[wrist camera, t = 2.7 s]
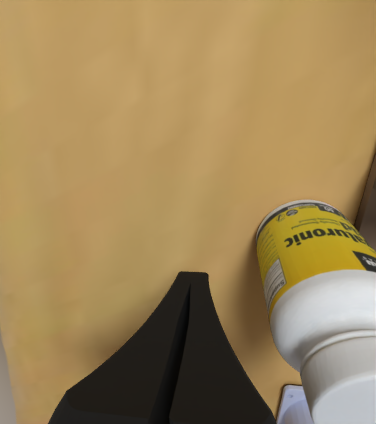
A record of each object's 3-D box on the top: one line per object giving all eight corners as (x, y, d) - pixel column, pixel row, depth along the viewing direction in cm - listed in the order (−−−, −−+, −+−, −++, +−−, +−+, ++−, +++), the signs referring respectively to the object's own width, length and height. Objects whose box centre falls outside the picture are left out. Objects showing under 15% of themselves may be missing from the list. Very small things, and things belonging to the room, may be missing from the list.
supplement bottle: (362, 204, 15) (561, 386, 6) (327, 277, 17) (431, 478, 9) (266, 189, 15) (324, 342, 6) (245, 263, 17) (266, 444, 9)
